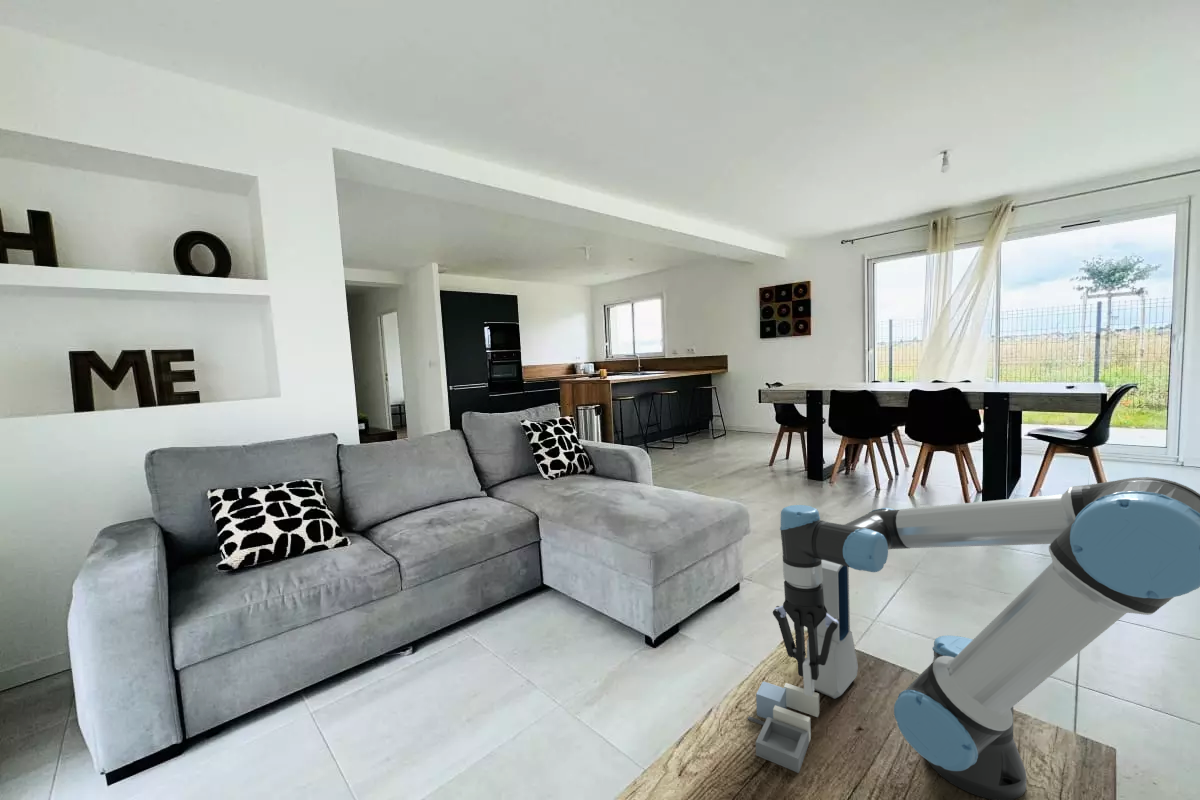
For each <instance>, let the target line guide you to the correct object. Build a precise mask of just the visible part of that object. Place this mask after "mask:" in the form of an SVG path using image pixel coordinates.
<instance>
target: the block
mask: <svg viewBox="0 0 1200 800" xmlns="http://www.w3.org/2000/svg"><path fill="white" fill-rule="evenodd" d="M755 700H756V701H755V702H756V716H757V717H760V718H762V719H765V720H766V719H767V717H770V718H772V719H773V708H774V706H775V705H776V706H779V707H782V708H785V709H787V706H786V689H785V688H784V687H783V686H779V685H776V684H772V683H770V682H766V681H762V682H761V684H760V686H759V688H758V690H757V692H756V695H755Z"/></svg>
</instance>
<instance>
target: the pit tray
mask: <svg viewBox="0 0 1200 800" xmlns="http://www.w3.org/2000/svg"><path fill="white" fill-rule="evenodd" d="M764 722H765V723H764V725H762V726H761V727H762V728H761V730H760V731H759V733H758V736H757V738H756V740H755V756H757V757H759V758H761V759H764V760H767V761H769V762H772V763H774V764H776V765H778V766H781V767H784V768H785V769H788V770H790V771H793V772H795V773H797V774H799V773H800V771H801V768H802V765H803V762H804V759H805V756H806V754H807V750H808V747H809V744H810V742H809V743H808V731H805V730H802V729H800V728H797V727H794V726H791V725H789V724H786V723H783V722H781V721H778V720H775V719H772V718H770V717H767V719H765V721H764Z"/></svg>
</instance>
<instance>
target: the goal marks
mask: <svg viewBox="0 0 1200 800" xmlns="http://www.w3.org/2000/svg"><path fill="white" fill-rule="evenodd" d="M747 721H750V722H754V723H755V724H759V725H760V726H763V725H764V723H765V721H763V720H760V719H758V718H755V717H753V716H749V715H748V717H747Z"/></svg>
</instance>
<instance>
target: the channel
mask: <svg viewBox="0 0 1200 800" xmlns="http://www.w3.org/2000/svg"><path fill="white" fill-rule="evenodd" d="M783 688H785V689H786V709H785V708H782V707H779V706H776V705H775V706H774V708H773V719H775V720H778V721H781V722H783V723H786V724H789V725H791V726H794V727H797V728H800V729H802V730H805V731H808V743H809V744H810V742H811V737H812V735H811V733H812V732H811V731H812V729H811V717H810V716H813V717H816V718H819V716H820V692H819V693H818V692H815V691H814V693H813V695H812V697H811V696H807V695H804V687H801V686H796V685H793V684H791V683H788V682H785V684H784V685H783ZM788 708H789V709H788ZM790 709H793V710H796V711H793V710H790ZM797 711H799V712H801V713H805V714H808V715H810V716H807V715H804V714H801V713H799V712H797Z"/></svg>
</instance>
